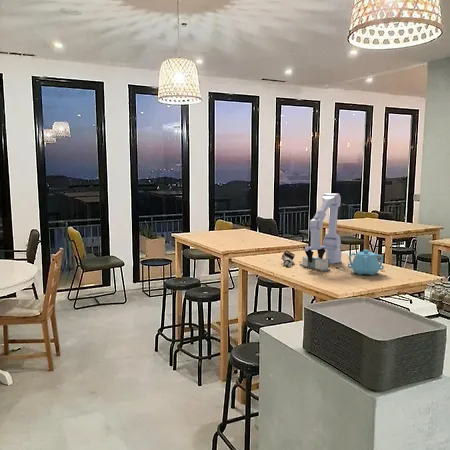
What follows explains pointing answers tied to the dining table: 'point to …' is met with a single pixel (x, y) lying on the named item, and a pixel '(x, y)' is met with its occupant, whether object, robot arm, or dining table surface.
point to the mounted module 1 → (306, 261)
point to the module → (314, 261)
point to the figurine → (288, 258)
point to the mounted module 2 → (321, 264)
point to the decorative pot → (365, 263)
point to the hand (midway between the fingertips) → (315, 261)
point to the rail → (315, 268)
